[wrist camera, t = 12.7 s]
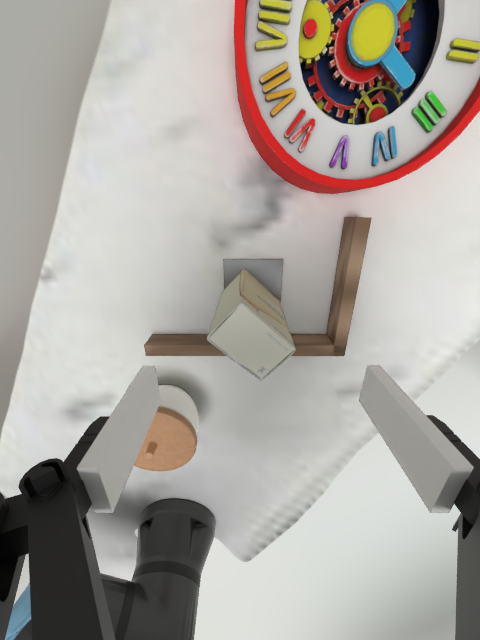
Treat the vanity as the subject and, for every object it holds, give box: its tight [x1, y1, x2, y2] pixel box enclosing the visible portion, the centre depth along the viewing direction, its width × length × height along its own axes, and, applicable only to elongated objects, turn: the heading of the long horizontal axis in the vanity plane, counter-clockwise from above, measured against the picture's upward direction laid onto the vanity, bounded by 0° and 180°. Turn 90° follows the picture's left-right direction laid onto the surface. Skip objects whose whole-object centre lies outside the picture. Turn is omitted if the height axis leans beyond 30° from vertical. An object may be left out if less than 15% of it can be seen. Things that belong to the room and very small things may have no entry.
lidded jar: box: [134, 385, 199, 471], centre depth 34 cm, size 11×11×9 cm
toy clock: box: [234, 0, 480, 194], centre depth 20 cm, size 20×6×20 cm
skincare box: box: [207, 269, 296, 381], centre depth 25 cm, size 6×4×12 cm
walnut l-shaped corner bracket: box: [144, 217, 371, 356], centre depth 29 cm, size 16×25×3 cm, turn 90°
